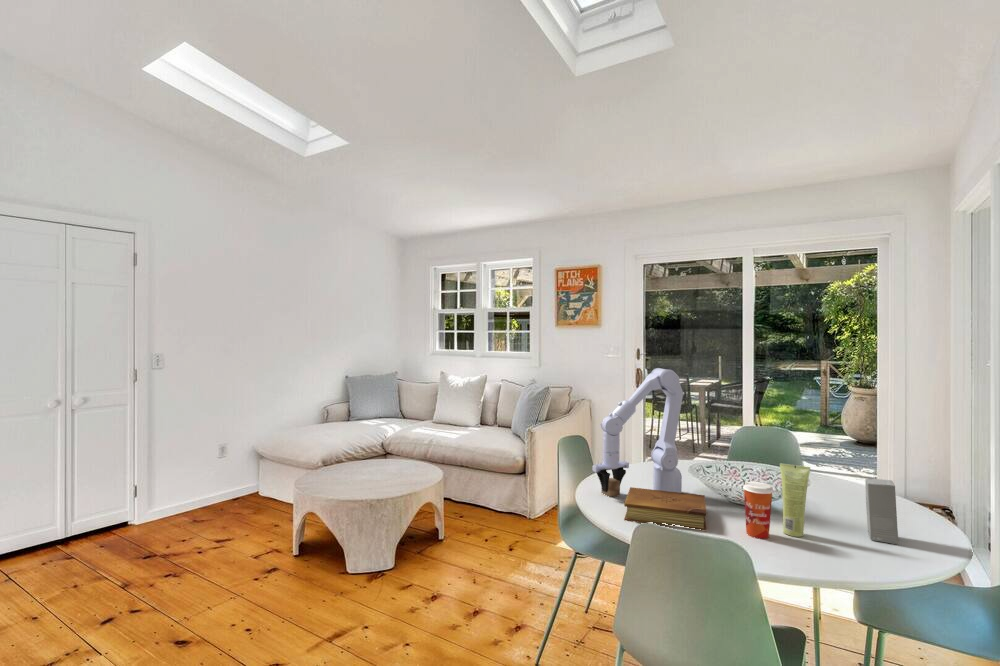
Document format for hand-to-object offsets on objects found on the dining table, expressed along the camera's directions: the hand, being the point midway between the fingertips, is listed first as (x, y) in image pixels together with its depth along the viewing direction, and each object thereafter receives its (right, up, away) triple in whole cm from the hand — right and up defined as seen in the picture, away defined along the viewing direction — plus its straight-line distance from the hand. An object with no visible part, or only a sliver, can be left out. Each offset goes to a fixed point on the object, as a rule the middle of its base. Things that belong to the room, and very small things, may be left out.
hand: (610, 490), depth 180 cm
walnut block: (0, -1, 0) cm, 1 cm away
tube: (+44, -2, -35) cm, 56 cm away
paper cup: (+34, -2, -36) cm, 49 cm away
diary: (+13, -2, -21) cm, 24 cm away
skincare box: (+68, -2, -36) cm, 77 cm away
